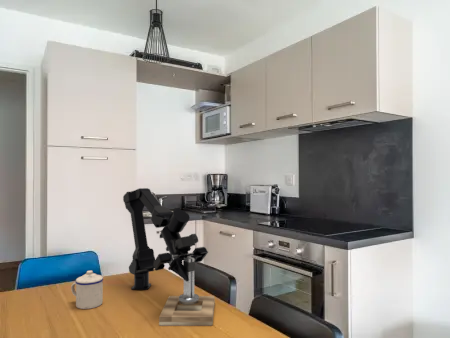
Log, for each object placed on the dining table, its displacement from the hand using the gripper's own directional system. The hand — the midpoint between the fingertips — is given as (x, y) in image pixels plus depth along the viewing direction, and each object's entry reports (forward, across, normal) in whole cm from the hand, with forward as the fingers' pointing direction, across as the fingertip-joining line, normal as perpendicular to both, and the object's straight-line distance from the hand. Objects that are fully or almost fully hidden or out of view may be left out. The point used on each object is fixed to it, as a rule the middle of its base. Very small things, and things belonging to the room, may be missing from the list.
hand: (191, 280), depth 111 cm
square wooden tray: (+7, 0, +9) cm, 11 cm away
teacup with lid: (-14, -23, +30) cm, 41 cm away
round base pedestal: (+4, 0, +6) cm, 7 cm away
